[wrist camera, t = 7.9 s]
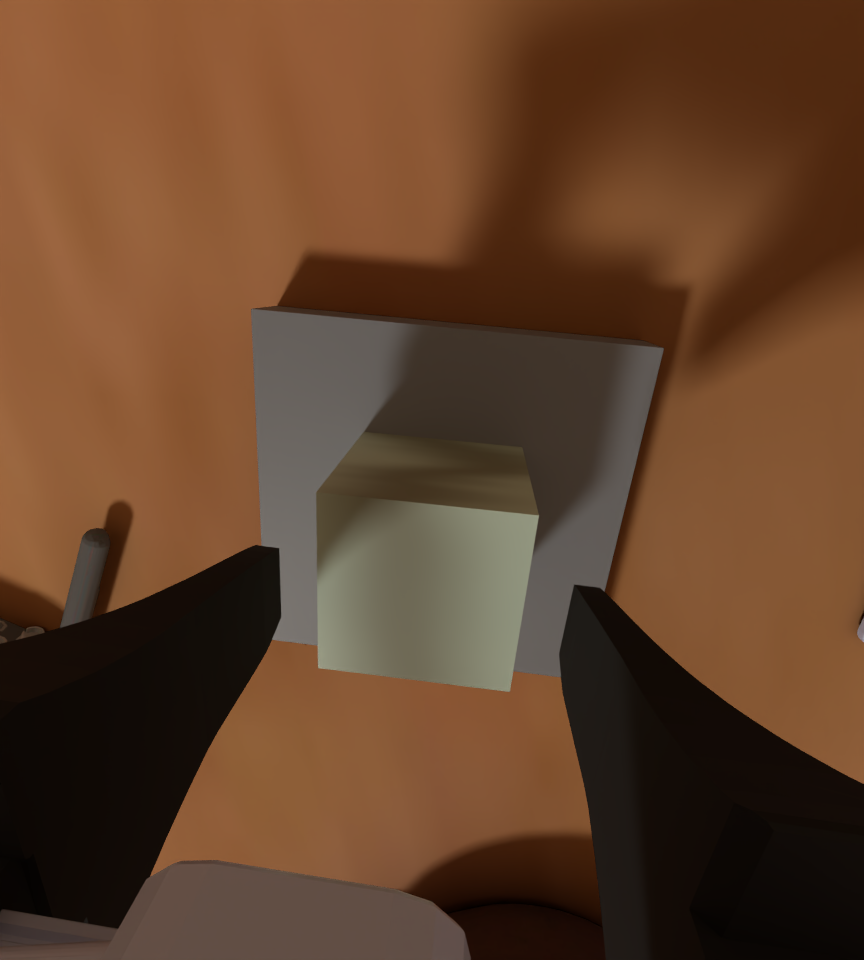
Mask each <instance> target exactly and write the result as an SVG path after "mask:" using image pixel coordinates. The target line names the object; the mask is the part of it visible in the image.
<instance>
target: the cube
mask: <svg viewBox="0 0 864 960" xmlns="http://www.w3.org/2000/svg"><path fill="white" fill-rule="evenodd" d="M538 518H539V514H538V510H537V505H536V501H535V497H534V493H533V489H532V485H531V481H530V477H529V472H528V468H527V464H526V460H525V456H524V452H523V448H522V447H515V446H505V445H495V444H484V443H474V442H464V441H453V440H443V439H433V438H422V437H412V436H402V435H392V434H381V433H371V432H363V433H362V435H361V436H360V437H359V438H358V440H357V441H356V442H355V444H354V445H353V446H352V447H351V449H350V450H349V451H348V452H347V454H346V455H345V456H344V458H343V459H342V460H341V461H340V463H339V464H338V465H337V466H336V468H335V469H334V470H333V471H332V473H331V474H330V475H329V477H328V478H327V479H326V480H325V482H324V483H323V484H322V485H321V487H320V488H319V489H318V491H317V492H316V520H317V613H318V668H323V669H331V670H339V671H347V672H355V673H363V674H371V675H379V676H387V677H395V678H403V679H411V680H419V681H427V682H435V683H443V684H451V685H459V686H467V687H475V688H483V689H491V690H499V691H507V692H510V687H511V681H512V675H513V669H514V663H515V657H516V651H517V645H518V639H519V633H520V627H521V621H522V615H523V609H524V603H525V597H526V591H527V585H528V579H529V572H530V566H531V560H532V554H533V548H534V542H535V536H536V530H537V524H538Z"/></svg>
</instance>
